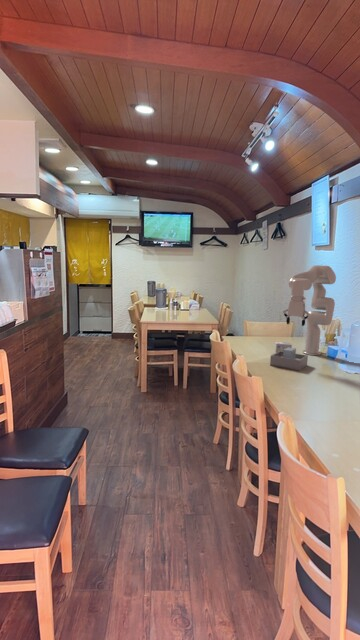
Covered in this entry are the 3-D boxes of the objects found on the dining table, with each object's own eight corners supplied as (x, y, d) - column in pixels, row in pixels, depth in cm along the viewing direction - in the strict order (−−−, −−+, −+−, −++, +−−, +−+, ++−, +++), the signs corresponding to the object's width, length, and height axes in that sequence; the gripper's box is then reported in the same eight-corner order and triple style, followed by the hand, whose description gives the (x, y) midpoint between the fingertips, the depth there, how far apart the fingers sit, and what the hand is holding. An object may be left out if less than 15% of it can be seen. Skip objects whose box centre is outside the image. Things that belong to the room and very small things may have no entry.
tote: (279, 360, 253) (280, 350, 252) (307, 365, 242) (307, 355, 241) (270, 365, 239) (270, 355, 238) (298, 370, 229) (299, 360, 228)
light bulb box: (289, 357, 262) (290, 342, 260) (291, 359, 255) (292, 344, 254) (273, 356, 263) (274, 341, 261) (275, 358, 256) (276, 343, 255)
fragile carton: (287, 357, 245) (288, 347, 244) (295, 358, 242) (296, 348, 241) (282, 360, 238) (283, 349, 237) (290, 361, 235) (291, 350, 234)
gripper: (312, 299, 238) (310, 325, 241) (285, 297, 247) (284, 322, 251) (308, 300, 232) (307, 327, 235) (281, 298, 241) (280, 324, 245)
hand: (295, 324), depth 243 cm, fingers open, 9 cm apart
